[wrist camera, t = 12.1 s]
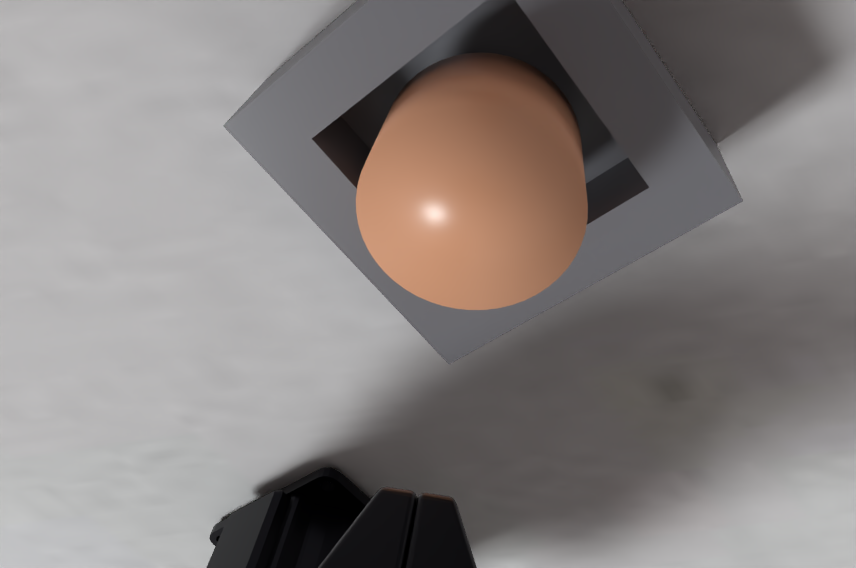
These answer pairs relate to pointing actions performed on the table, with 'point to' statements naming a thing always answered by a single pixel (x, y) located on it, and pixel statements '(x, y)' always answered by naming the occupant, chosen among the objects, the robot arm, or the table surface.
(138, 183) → the table surface
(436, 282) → the button
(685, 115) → the button housing
